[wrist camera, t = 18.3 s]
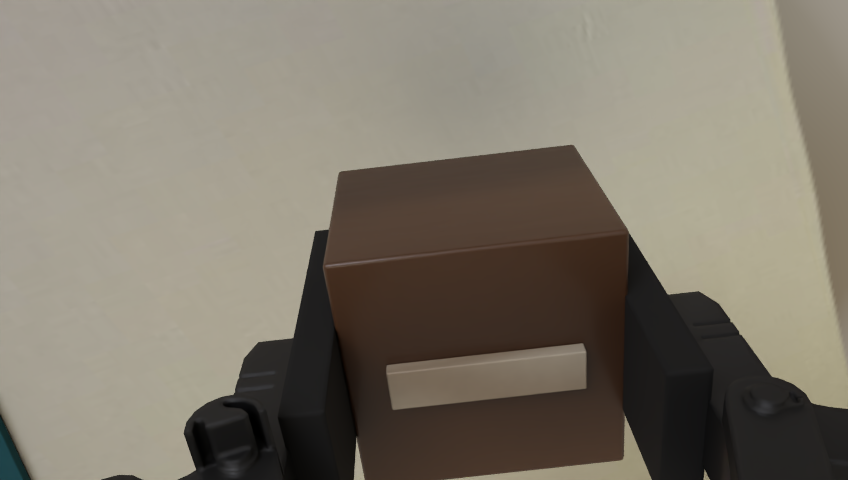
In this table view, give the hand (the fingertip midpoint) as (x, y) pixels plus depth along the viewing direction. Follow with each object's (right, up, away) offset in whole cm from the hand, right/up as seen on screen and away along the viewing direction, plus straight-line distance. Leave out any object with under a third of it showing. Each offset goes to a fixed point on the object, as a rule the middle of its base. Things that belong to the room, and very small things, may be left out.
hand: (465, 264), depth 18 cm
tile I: (0, 0, 0) cm, 0 cm away
